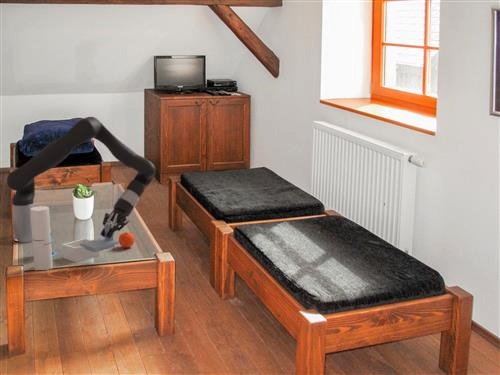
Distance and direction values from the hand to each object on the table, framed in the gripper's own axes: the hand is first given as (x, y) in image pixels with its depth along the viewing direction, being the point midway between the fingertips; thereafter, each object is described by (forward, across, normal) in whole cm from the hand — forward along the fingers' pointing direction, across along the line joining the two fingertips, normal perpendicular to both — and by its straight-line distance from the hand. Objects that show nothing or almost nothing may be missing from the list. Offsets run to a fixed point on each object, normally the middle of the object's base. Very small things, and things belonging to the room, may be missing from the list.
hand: (105, 236), depth 311 cm
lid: (+5, 0, +1) cm, 5 cm away
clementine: (-6, -10, +21) cm, 24 cm away
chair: (+17, -25, -2) cm, 31 cm away
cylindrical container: (+24, -12, -8) cm, 28 cm away
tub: (+10, -13, +5) cm, 17 cm away
